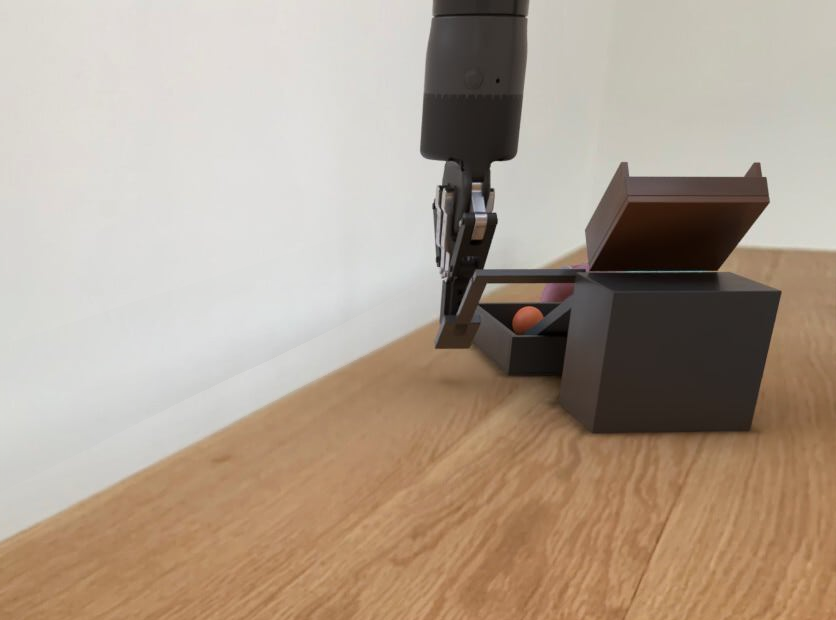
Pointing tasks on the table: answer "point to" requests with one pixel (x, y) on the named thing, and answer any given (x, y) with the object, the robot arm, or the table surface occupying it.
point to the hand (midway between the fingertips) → (453, 328)
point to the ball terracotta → (526, 319)
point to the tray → (518, 341)
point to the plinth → (666, 351)
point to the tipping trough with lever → (639, 235)
